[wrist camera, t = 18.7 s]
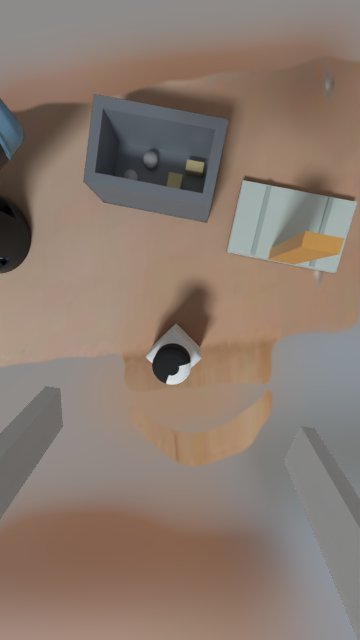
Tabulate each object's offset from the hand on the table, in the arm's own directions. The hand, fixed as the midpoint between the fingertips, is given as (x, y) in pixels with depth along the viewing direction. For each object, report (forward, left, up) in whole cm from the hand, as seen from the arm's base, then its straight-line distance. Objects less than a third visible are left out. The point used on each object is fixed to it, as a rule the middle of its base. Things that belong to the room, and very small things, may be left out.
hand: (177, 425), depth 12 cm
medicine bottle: (-1, -5, -32) cm, 33 cm away
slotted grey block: (+15, +22, -32) cm, 41 cm away
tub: (-10, +26, -32) cm, 43 cm away
